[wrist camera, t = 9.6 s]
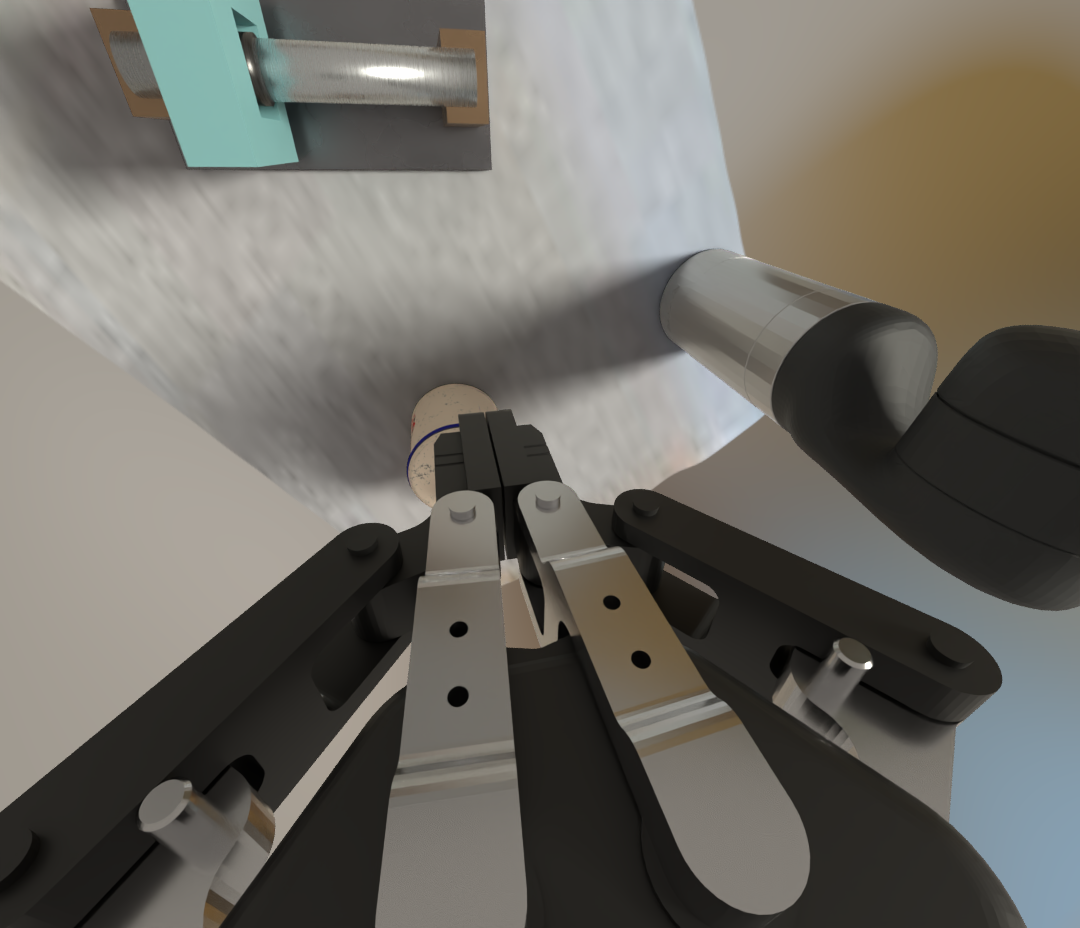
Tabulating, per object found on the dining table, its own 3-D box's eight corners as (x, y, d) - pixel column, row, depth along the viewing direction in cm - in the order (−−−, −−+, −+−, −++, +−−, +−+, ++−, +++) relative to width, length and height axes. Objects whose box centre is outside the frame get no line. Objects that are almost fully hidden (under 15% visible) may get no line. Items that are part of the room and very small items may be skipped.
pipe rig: (482, -1, 29) (501, -46, 22) (490, 169, 34) (507, 175, 27) (121, -26, 25) (10, -89, 18) (191, 168, 30) (125, 175, 23)
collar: (254, -18, 24) (184, -87, 17) (298, 161, 29) (258, 167, 22) (191, -23, 24) (92, -95, 16) (247, 161, 28) (188, 166, 21)
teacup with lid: (390, 404, 43) (381, 476, 33) (477, 364, 42) (493, 426, 33) (450, 491, 50) (456, 570, 40) (525, 457, 49) (549, 530, 40)
